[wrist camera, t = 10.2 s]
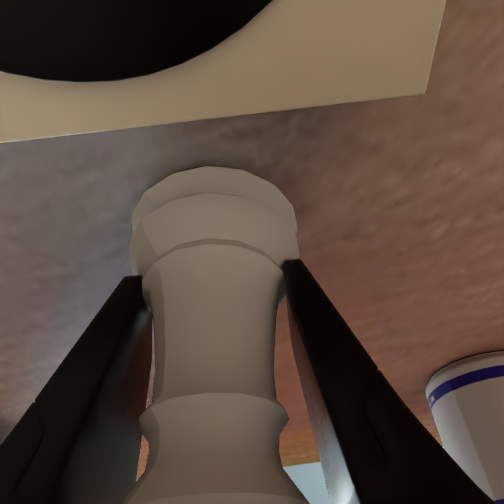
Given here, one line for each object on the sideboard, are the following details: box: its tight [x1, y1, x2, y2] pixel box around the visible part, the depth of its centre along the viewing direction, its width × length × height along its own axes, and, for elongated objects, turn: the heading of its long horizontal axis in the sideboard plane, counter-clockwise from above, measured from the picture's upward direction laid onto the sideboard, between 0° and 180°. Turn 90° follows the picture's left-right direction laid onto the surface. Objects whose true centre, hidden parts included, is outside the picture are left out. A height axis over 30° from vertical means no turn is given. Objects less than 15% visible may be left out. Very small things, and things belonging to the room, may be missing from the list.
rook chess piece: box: [120, 165, 309, 504], centre depth 9 cm, size 4×4×8 cm
